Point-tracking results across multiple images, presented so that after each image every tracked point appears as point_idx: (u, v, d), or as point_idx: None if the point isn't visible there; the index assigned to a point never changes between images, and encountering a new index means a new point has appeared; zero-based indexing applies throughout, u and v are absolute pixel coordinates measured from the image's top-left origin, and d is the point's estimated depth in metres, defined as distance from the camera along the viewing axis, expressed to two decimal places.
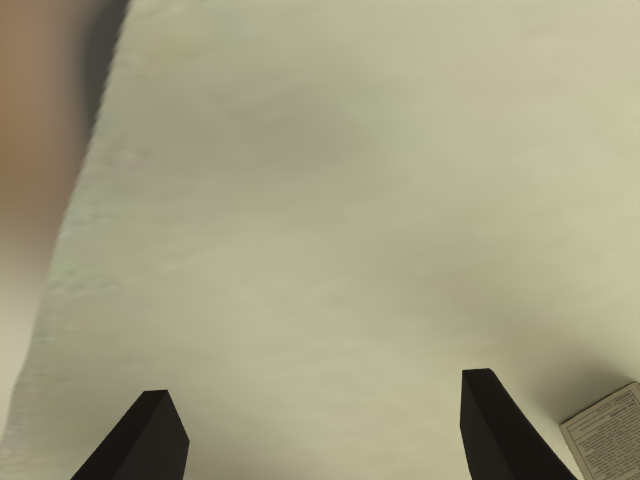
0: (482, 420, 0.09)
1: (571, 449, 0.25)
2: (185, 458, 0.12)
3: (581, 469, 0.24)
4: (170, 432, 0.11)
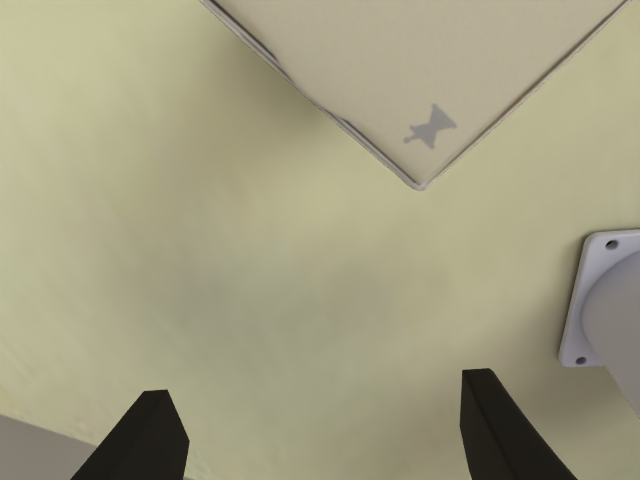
0: (482, 420, 0.09)
1: None
2: (185, 458, 0.12)
3: None
4: (170, 432, 0.11)
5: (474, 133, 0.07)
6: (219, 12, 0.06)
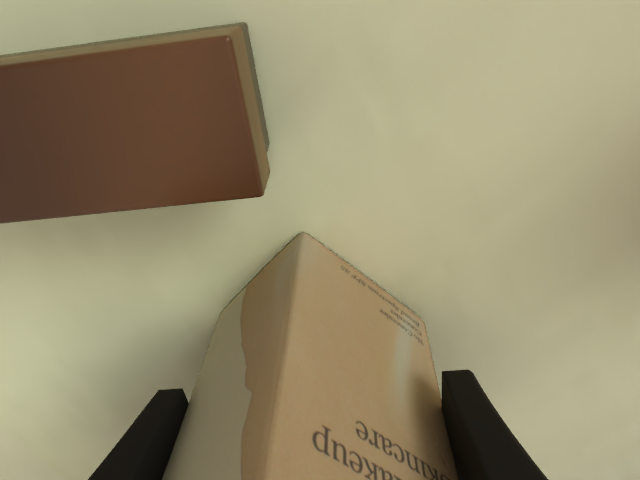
0: (458, 422, 0.09)
1: None
2: None
3: None
4: None
5: None
6: None
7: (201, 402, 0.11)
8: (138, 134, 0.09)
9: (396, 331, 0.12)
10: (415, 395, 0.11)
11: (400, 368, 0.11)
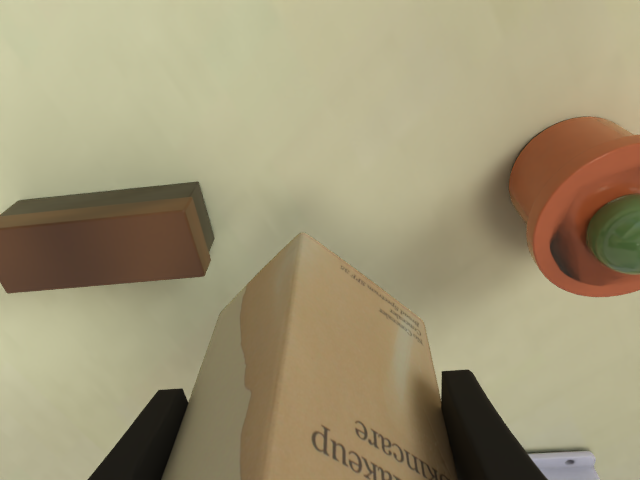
0: (458, 422, 0.09)
1: None
2: None
3: None
4: None
5: None
6: None
7: (200, 402, 0.11)
8: (142, 249, 0.18)
9: (396, 330, 0.12)
10: (415, 395, 0.11)
11: (399, 368, 0.11)
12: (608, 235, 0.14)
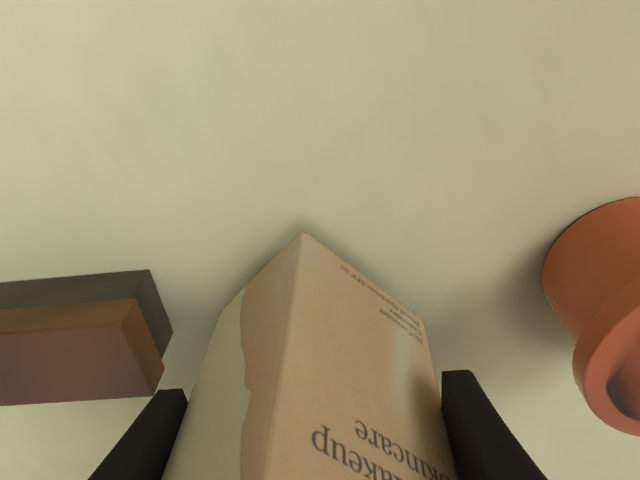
0: (458, 422, 0.09)
1: None
2: None
3: None
4: None
5: None
6: None
7: (200, 402, 0.11)
8: (71, 366, 0.14)
9: (396, 330, 0.12)
10: (415, 395, 0.11)
11: (399, 368, 0.11)
12: None
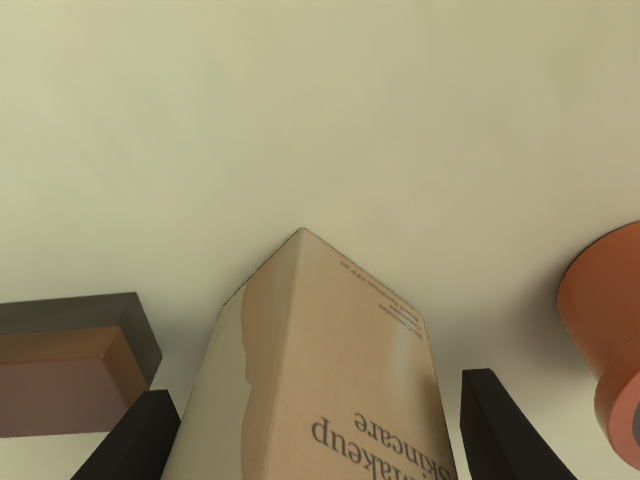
0: (482, 420, 0.09)
1: None
2: None
3: None
4: (170, 432, 0.11)
5: None
6: None
7: (202, 396, 0.11)
8: (50, 400, 0.13)
9: (396, 325, 0.12)
10: (414, 389, 0.11)
11: (398, 362, 0.11)
12: None
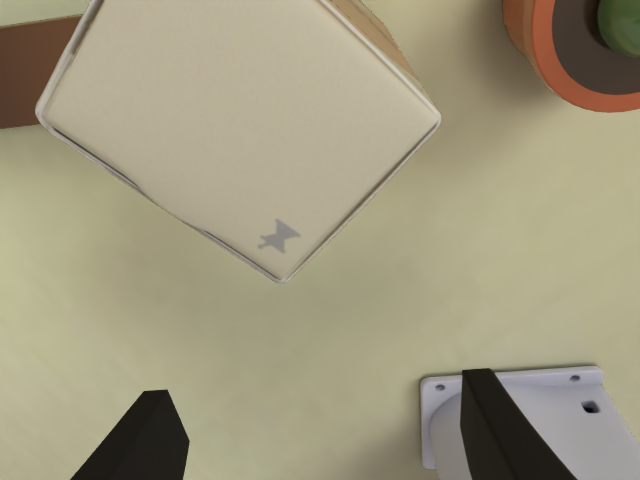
0: (482, 420, 0.09)
1: None
2: (185, 458, 0.12)
3: None
4: (170, 432, 0.11)
5: (318, 240, 0.08)
6: (84, 151, 0.07)
7: None
8: None
9: (359, 1, 0.14)
10: (370, 15, 0.13)
11: (357, 2, 0.13)
12: None
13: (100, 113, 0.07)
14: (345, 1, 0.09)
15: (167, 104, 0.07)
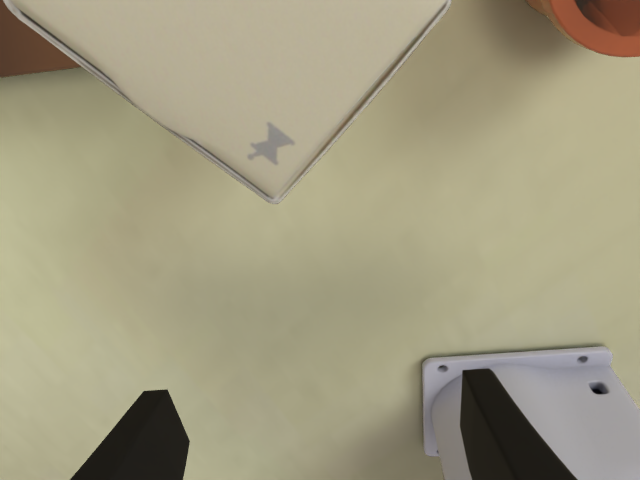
0: (482, 420, 0.09)
1: None
2: (185, 458, 0.12)
3: None
4: (170, 432, 0.11)
5: (314, 149, 0.07)
6: (55, 41, 0.07)
7: None
8: None
9: None
10: None
11: None
12: None
13: None
14: None
15: None
